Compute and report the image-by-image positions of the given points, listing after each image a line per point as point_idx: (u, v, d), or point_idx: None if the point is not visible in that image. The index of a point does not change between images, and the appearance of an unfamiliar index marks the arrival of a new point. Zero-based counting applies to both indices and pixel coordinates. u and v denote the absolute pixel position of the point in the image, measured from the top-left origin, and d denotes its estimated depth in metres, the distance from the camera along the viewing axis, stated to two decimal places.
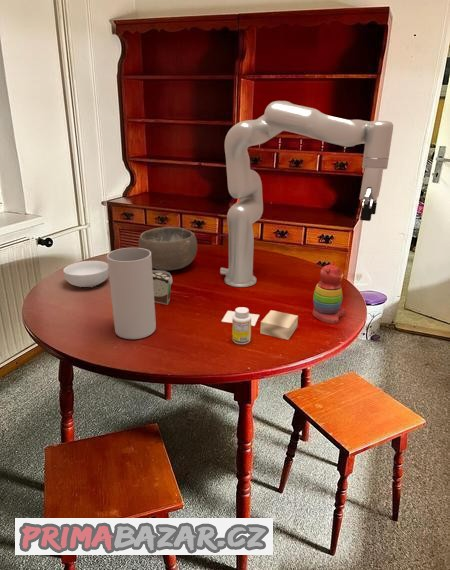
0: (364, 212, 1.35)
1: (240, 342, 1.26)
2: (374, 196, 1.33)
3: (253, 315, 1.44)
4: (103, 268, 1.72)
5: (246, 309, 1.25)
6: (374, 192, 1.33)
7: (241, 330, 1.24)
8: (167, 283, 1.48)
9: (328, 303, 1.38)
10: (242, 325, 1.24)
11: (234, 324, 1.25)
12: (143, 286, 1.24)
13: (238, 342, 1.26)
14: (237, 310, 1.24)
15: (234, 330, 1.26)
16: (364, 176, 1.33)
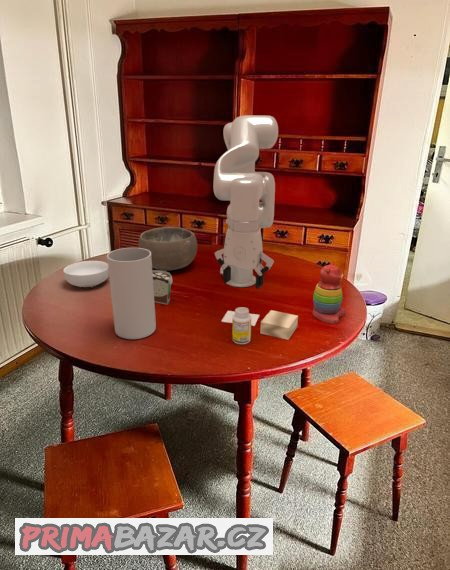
0: (261, 279, 1.18)
1: (240, 342, 1.26)
2: None
3: (253, 315, 1.44)
4: (103, 268, 1.72)
5: (246, 309, 1.25)
6: None
7: (241, 330, 1.24)
8: (167, 283, 1.48)
9: (328, 303, 1.38)
10: (242, 325, 1.24)
11: (234, 324, 1.25)
12: (143, 286, 1.24)
13: (238, 342, 1.26)
14: (237, 310, 1.24)
15: (234, 330, 1.26)
16: (256, 242, 1.13)
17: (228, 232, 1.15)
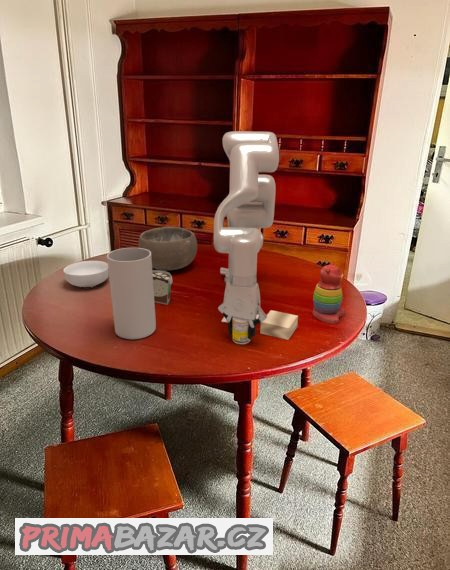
0: (254, 330, 1.25)
1: (240, 342, 1.26)
2: None
3: None
4: (103, 268, 1.72)
5: None
6: None
7: (241, 330, 1.24)
8: (167, 283, 1.48)
9: (328, 303, 1.38)
10: (242, 325, 1.24)
11: (234, 324, 1.25)
12: (143, 286, 1.24)
13: (238, 342, 1.26)
14: None
15: (234, 330, 1.26)
16: (254, 295, 1.19)
17: (227, 285, 1.21)
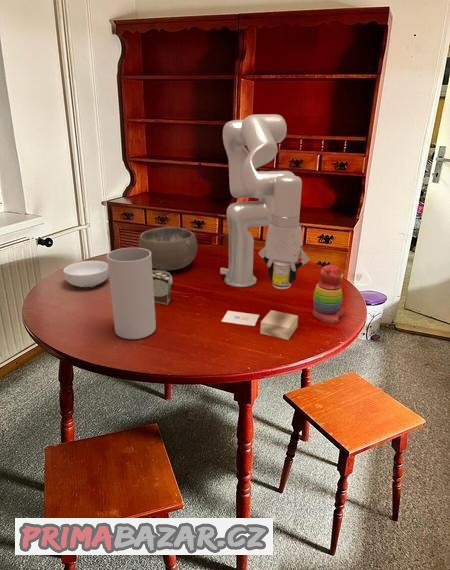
0: (295, 274, 1.25)
1: (281, 286, 1.26)
2: None
3: (253, 315, 1.44)
4: (103, 268, 1.72)
5: None
6: None
7: (283, 273, 1.24)
8: (167, 283, 1.48)
9: (328, 303, 1.38)
10: (283, 268, 1.24)
11: (275, 268, 1.25)
12: (143, 286, 1.24)
13: (279, 286, 1.26)
14: None
15: (275, 274, 1.26)
16: (297, 237, 1.19)
17: (270, 227, 1.21)
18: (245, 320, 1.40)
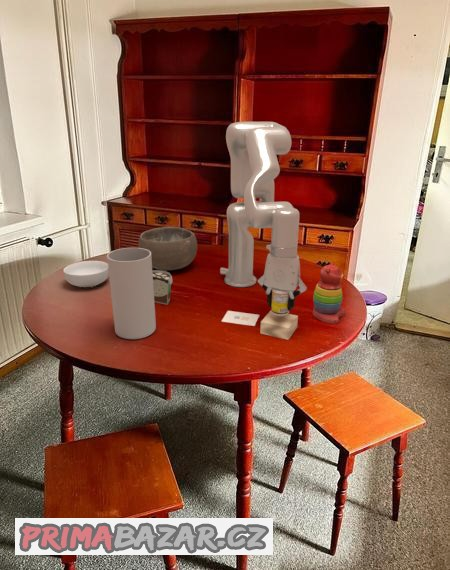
0: (293, 302, 1.29)
1: (280, 313, 1.29)
2: None
3: (253, 315, 1.44)
4: (103, 268, 1.72)
5: None
6: (299, 277, 1.27)
7: (281, 301, 1.28)
8: (167, 283, 1.48)
9: (328, 303, 1.38)
10: (282, 296, 1.27)
11: (274, 296, 1.28)
12: (143, 286, 1.24)
13: (277, 313, 1.30)
14: None
15: (274, 302, 1.29)
16: (295, 266, 1.22)
17: (269, 257, 1.25)
18: (245, 320, 1.40)
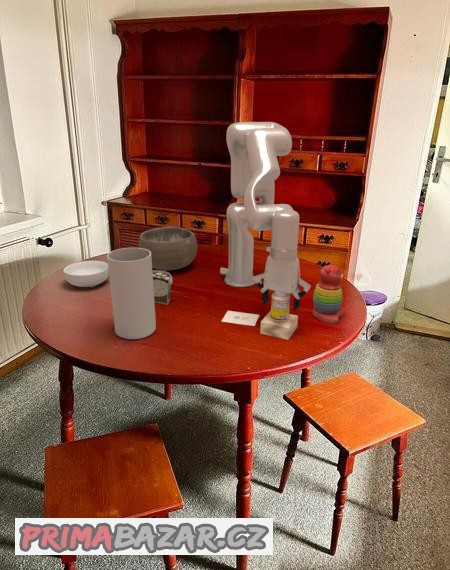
0: (299, 302, 1.28)
1: (279, 320, 1.31)
2: None
3: (253, 315, 1.44)
4: (103, 268, 1.72)
5: None
6: None
7: (281, 308, 1.29)
8: (167, 283, 1.48)
9: (328, 303, 1.38)
10: (281, 303, 1.28)
11: (274, 302, 1.29)
12: (143, 286, 1.24)
13: (277, 320, 1.31)
14: None
15: (273, 308, 1.30)
16: (295, 269, 1.23)
17: (269, 259, 1.25)
18: (245, 320, 1.40)
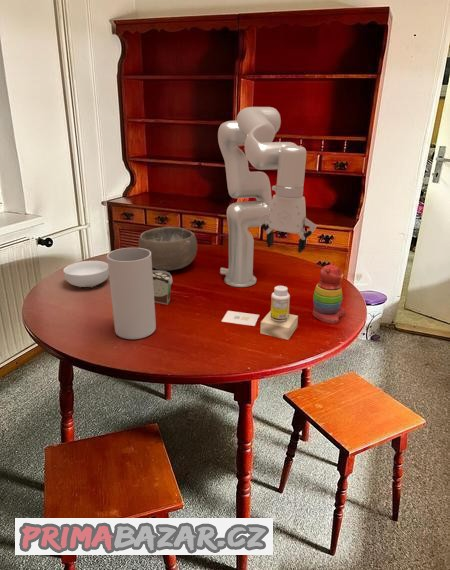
0: (304, 243, 1.25)
1: (279, 319, 1.31)
2: None
3: (253, 315, 1.44)
4: (103, 268, 1.72)
5: (285, 287, 1.30)
6: None
7: (281, 307, 1.29)
8: (167, 283, 1.48)
9: (328, 303, 1.38)
10: (281, 302, 1.28)
11: (274, 302, 1.29)
12: (143, 286, 1.24)
13: (277, 319, 1.31)
14: (276, 288, 1.29)
15: (273, 308, 1.30)
16: (301, 207, 1.20)
17: (274, 198, 1.22)
18: (245, 320, 1.40)
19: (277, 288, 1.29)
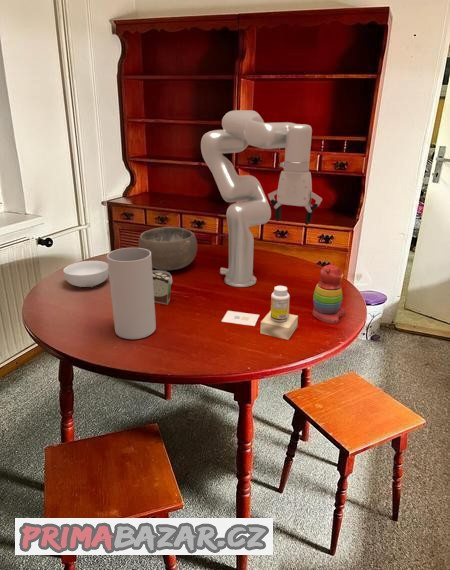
0: (310, 216, 1.34)
1: (279, 319, 1.31)
2: None
3: (253, 315, 1.44)
4: (103, 268, 1.72)
5: (284, 287, 1.30)
6: None
7: (281, 307, 1.29)
8: (167, 283, 1.48)
9: (328, 303, 1.38)
10: (281, 302, 1.28)
11: (273, 302, 1.29)
12: (143, 286, 1.24)
13: (277, 319, 1.31)
14: (276, 288, 1.29)
15: (273, 308, 1.30)
16: (308, 181, 1.29)
17: (282, 173, 1.32)
18: (245, 320, 1.40)
19: (277, 288, 1.29)
